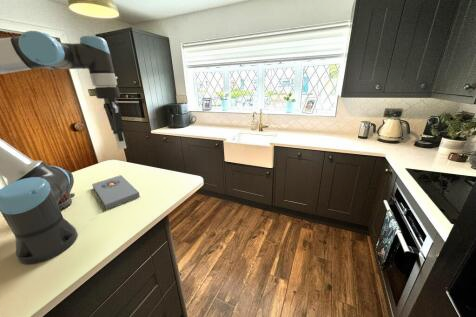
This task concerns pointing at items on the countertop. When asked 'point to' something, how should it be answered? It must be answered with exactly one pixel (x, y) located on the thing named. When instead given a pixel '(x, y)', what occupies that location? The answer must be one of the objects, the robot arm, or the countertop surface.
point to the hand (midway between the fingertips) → (122, 148)
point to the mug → (67, 194)
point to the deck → (115, 191)
